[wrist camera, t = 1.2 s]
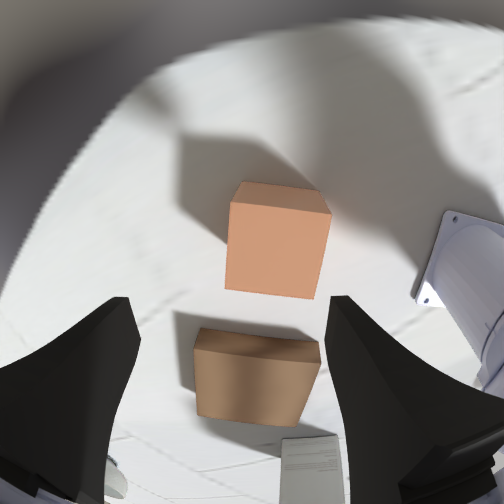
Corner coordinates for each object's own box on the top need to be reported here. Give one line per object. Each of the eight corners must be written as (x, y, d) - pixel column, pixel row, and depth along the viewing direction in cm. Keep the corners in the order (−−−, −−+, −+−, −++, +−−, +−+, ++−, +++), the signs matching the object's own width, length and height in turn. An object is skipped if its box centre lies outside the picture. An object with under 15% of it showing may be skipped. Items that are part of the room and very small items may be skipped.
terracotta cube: (319, 190, 19) (332, 214, 14) (306, 259, 21) (313, 299, 16) (242, 180, 19) (230, 201, 14) (236, 250, 21) (224, 288, 17)
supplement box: (282, 459, 35) (278, 535, 23) (281, 437, 32) (276, 527, 20) (334, 456, 34) (338, 532, 22) (340, 433, 31) (347, 522, 19)
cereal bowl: (90, 435, 39) (76, 465, 33) (149, 477, 45) (141, 503, 39) (51, 432, 44) (38, 455, 37) (102, 471, 50) (94, 493, 43)
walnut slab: (318, 338, 24) (321, 363, 22) (295, 404, 29) (296, 427, 26) (201, 324, 25) (193, 348, 22) (203, 393, 29) (197, 415, 26)
